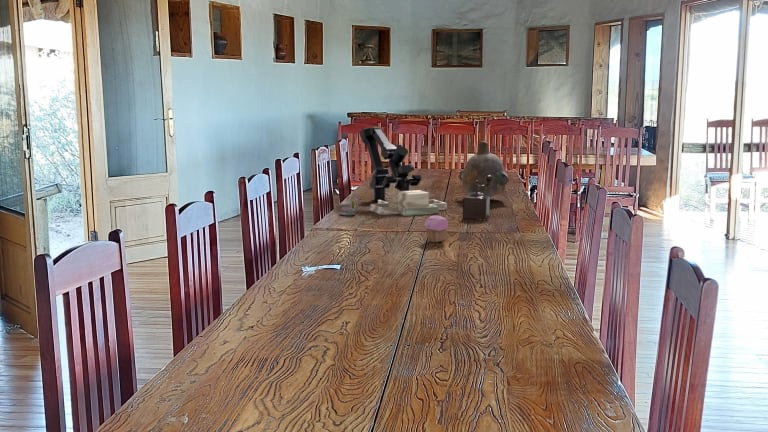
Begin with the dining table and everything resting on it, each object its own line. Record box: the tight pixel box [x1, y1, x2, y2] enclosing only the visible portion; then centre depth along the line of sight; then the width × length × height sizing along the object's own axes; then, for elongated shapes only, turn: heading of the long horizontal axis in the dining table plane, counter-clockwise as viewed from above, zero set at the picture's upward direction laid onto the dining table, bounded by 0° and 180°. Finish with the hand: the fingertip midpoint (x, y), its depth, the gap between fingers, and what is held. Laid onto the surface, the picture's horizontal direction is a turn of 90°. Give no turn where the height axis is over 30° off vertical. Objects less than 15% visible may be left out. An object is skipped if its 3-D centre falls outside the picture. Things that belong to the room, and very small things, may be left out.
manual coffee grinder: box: [462, 175, 494, 220], centre depth 339 cm, size 16×11×18 cm
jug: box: [458, 140, 510, 198], centre depth 381 cm, size 24×21×30 cm
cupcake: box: [424, 214, 449, 243], centre depth 287 cm, size 9×9×10 cm
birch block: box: [397, 189, 430, 209], centre depth 350 cm, size 9×11×9 cm
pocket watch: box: [339, 191, 359, 217], centre depth 340 cm, size 8×8×10 cm
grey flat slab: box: [369, 199, 448, 217], centre depth 355 cm, size 28×34×3 cm
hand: (408, 195), depth 354 cm, fingers closed, pressing on birch block
